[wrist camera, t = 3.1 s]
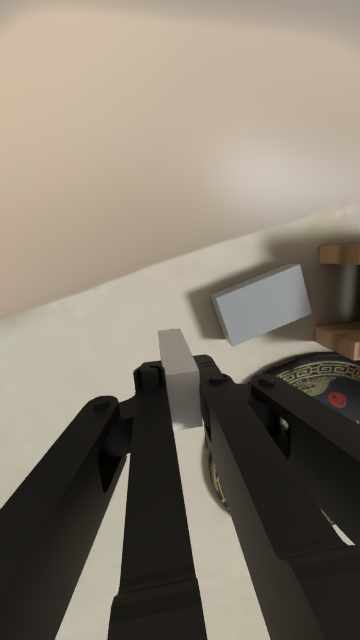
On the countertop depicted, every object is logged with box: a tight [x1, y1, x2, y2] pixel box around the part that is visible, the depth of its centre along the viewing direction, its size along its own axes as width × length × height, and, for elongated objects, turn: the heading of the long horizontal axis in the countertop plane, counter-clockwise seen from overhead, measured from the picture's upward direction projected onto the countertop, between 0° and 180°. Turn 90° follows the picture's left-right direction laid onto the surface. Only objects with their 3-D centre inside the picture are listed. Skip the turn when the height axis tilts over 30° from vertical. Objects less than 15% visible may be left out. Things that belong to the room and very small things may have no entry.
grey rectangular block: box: [210, 264, 312, 346], centre depth 30 cm, size 10×6×3 cm, turn 111°
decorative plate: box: [209, 352, 360, 525], centre depth 37 cm, size 30×2×30 cm
